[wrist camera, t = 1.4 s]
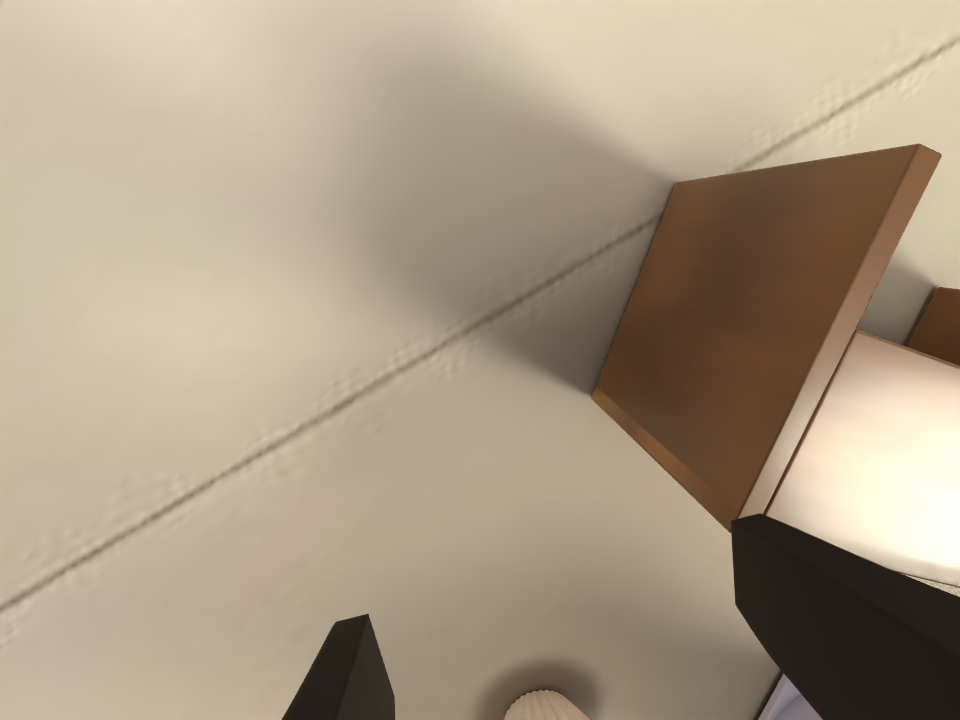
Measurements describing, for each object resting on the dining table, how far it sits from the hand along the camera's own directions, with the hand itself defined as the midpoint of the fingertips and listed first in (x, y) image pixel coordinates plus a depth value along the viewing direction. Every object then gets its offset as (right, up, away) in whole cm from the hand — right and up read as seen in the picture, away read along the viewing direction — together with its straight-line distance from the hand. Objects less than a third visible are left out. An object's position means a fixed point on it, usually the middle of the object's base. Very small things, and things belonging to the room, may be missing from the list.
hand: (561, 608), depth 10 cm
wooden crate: (+9, 0, +7) cm, 12 cm away
